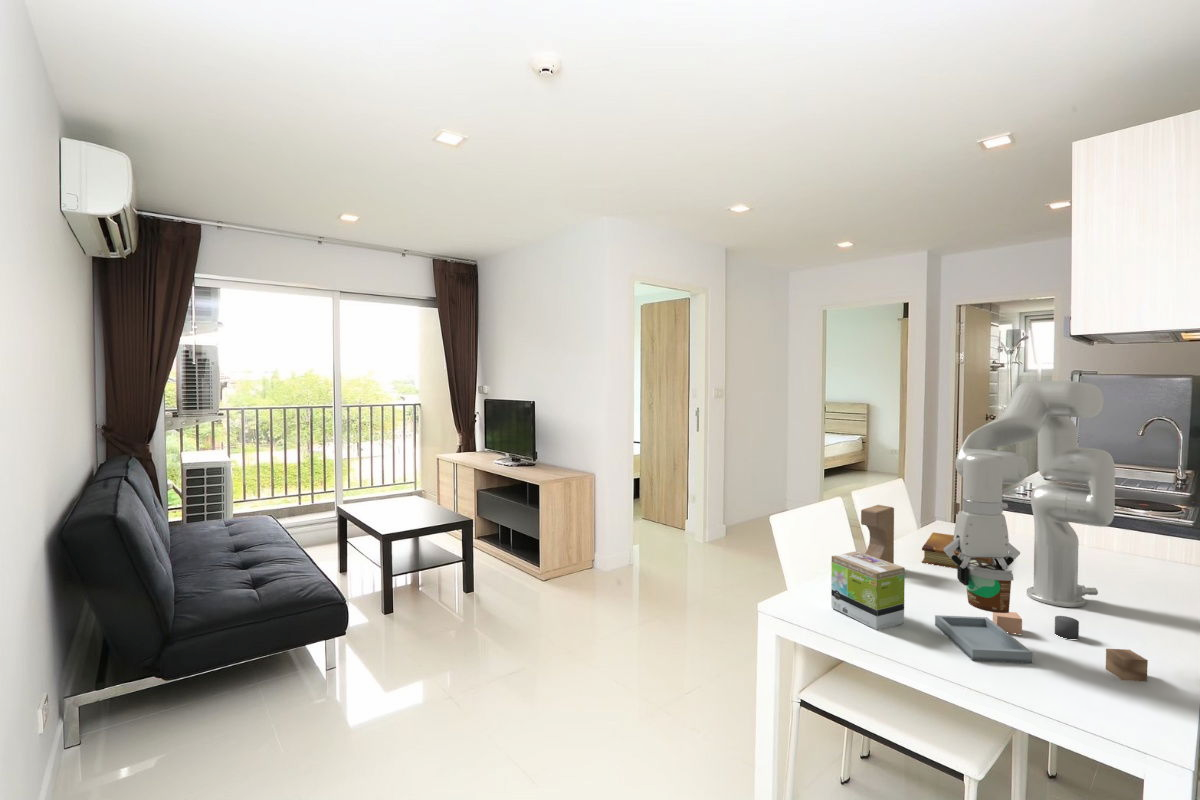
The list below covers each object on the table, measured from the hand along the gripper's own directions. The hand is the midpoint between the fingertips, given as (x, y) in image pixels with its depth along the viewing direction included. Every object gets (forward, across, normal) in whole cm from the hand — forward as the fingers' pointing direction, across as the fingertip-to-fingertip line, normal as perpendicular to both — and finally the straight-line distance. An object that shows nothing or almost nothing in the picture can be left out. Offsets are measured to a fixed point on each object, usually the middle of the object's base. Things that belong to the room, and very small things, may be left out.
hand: (980, 583), depth 132 cm
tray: (+14, 0, 0) cm, 14 cm away
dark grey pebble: (+14, -22, -6) cm, 27 cm away
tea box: (+14, +21, -13) cm, 29 cm away
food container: (+6, 0, 0) cm, 6 cm away
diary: (+14, -25, -64) cm, 70 cm away
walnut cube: (+14, -22, +12) cm, 29 cm away
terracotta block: (+14, -10, -8) cm, 19 cm away
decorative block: (+14, +6, -50) cm, 52 cm away
